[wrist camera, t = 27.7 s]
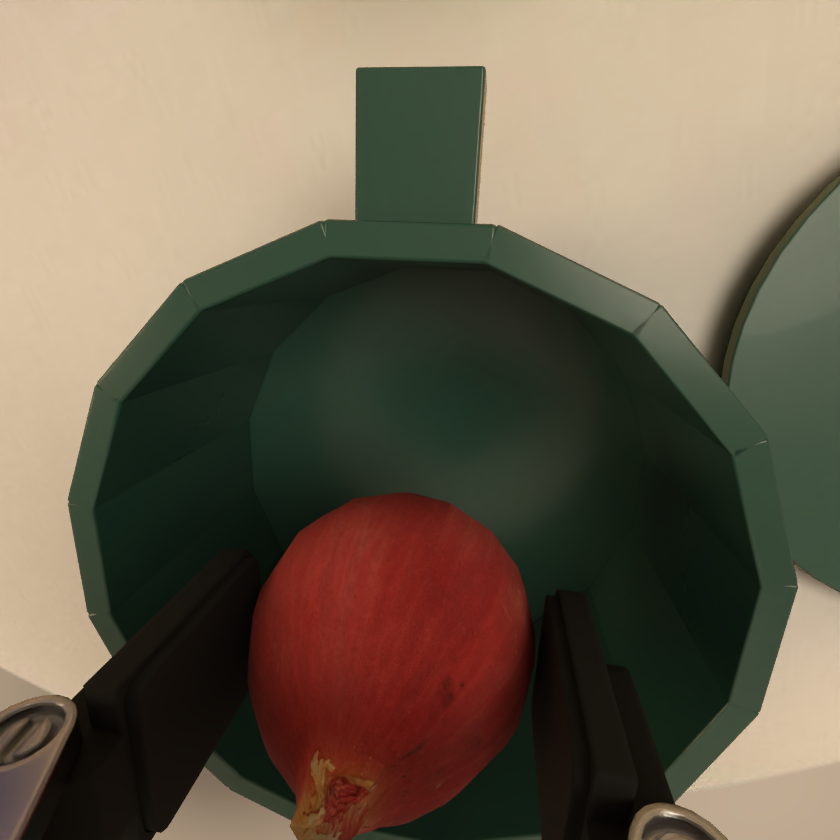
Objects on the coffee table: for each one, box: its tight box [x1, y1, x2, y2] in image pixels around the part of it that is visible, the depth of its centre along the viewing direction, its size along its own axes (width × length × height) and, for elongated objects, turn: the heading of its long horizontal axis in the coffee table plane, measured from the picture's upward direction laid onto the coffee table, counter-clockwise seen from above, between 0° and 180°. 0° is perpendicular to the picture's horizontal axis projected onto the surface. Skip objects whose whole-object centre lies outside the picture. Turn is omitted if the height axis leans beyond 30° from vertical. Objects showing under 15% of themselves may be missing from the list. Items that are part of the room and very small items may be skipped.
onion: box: [247, 492, 535, 840], centre depth 10 cm, size 6×6×8 cm
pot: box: [68, 66, 798, 840], centre depth 15 cm, size 16×22×8 cm
